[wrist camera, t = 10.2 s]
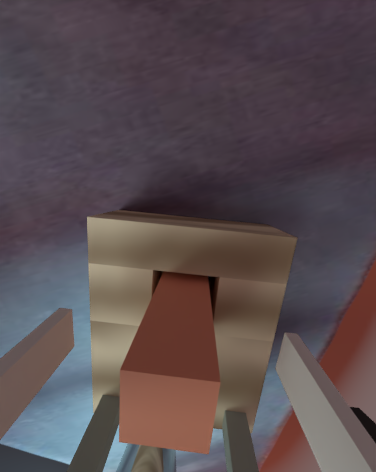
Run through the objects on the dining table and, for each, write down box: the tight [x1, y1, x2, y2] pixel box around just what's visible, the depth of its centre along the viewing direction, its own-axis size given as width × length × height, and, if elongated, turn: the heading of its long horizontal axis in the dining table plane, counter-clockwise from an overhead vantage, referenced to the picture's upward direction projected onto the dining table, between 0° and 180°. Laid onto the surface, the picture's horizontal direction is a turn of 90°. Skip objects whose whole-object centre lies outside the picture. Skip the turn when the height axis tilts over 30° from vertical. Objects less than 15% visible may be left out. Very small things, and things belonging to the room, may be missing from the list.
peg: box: [119, 271, 221, 454], centre depth 15 cm, size 4×4×14 cm
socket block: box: [87, 210, 297, 433], centre depth 19 cm, size 20×16×6 cm
